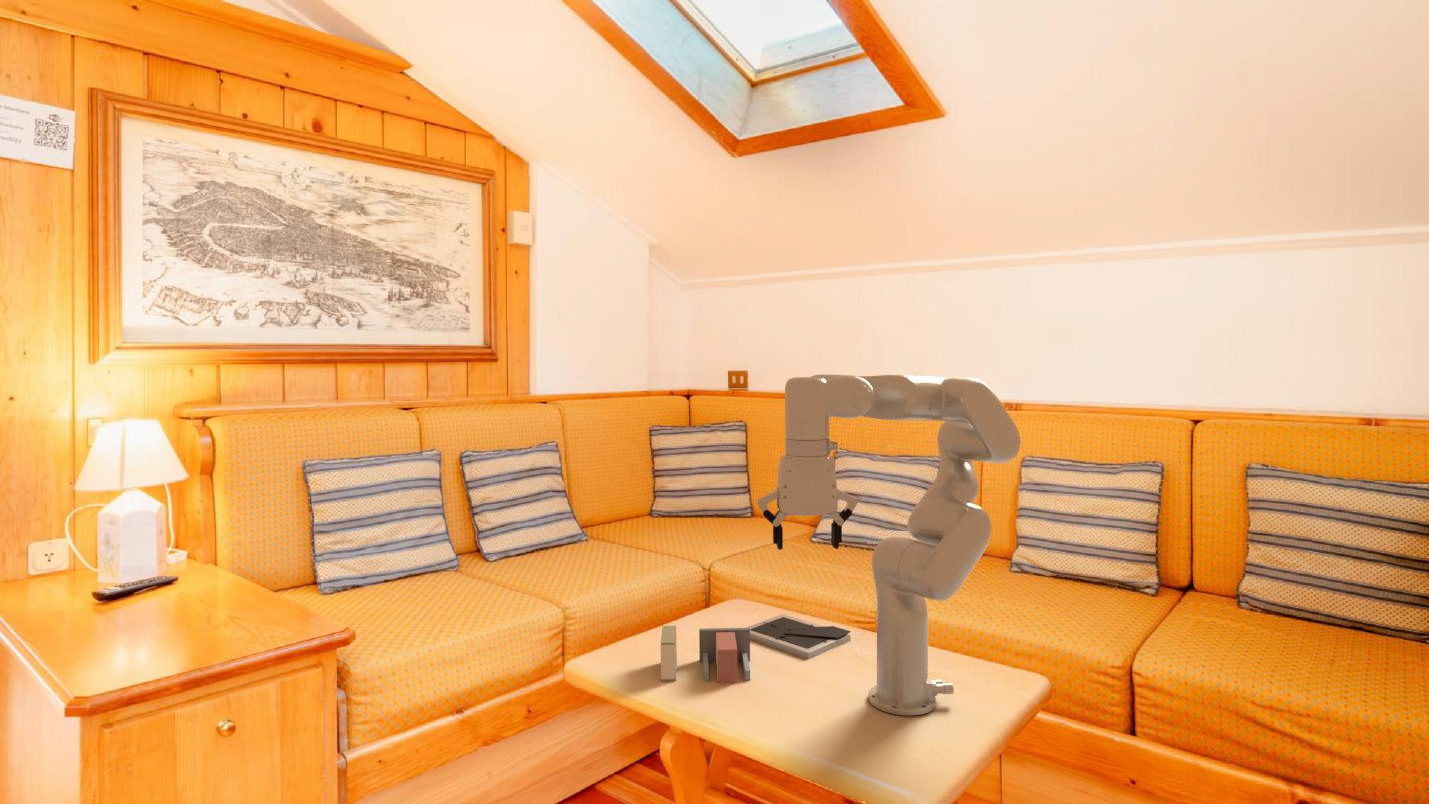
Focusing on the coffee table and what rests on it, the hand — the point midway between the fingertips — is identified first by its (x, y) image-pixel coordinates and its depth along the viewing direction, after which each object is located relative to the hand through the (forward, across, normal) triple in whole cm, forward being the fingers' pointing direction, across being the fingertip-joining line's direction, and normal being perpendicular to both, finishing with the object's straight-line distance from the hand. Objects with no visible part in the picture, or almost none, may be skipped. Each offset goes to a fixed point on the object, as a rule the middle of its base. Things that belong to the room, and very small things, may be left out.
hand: (807, 547), depth 135 cm
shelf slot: (+33, +13, -29) cm, 46 cm away
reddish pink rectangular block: (+33, +13, -28) cm, 45 cm away
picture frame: (+34, -4, -47) cm, 58 cm away
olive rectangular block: (+33, +25, -29) cm, 51 cm away
